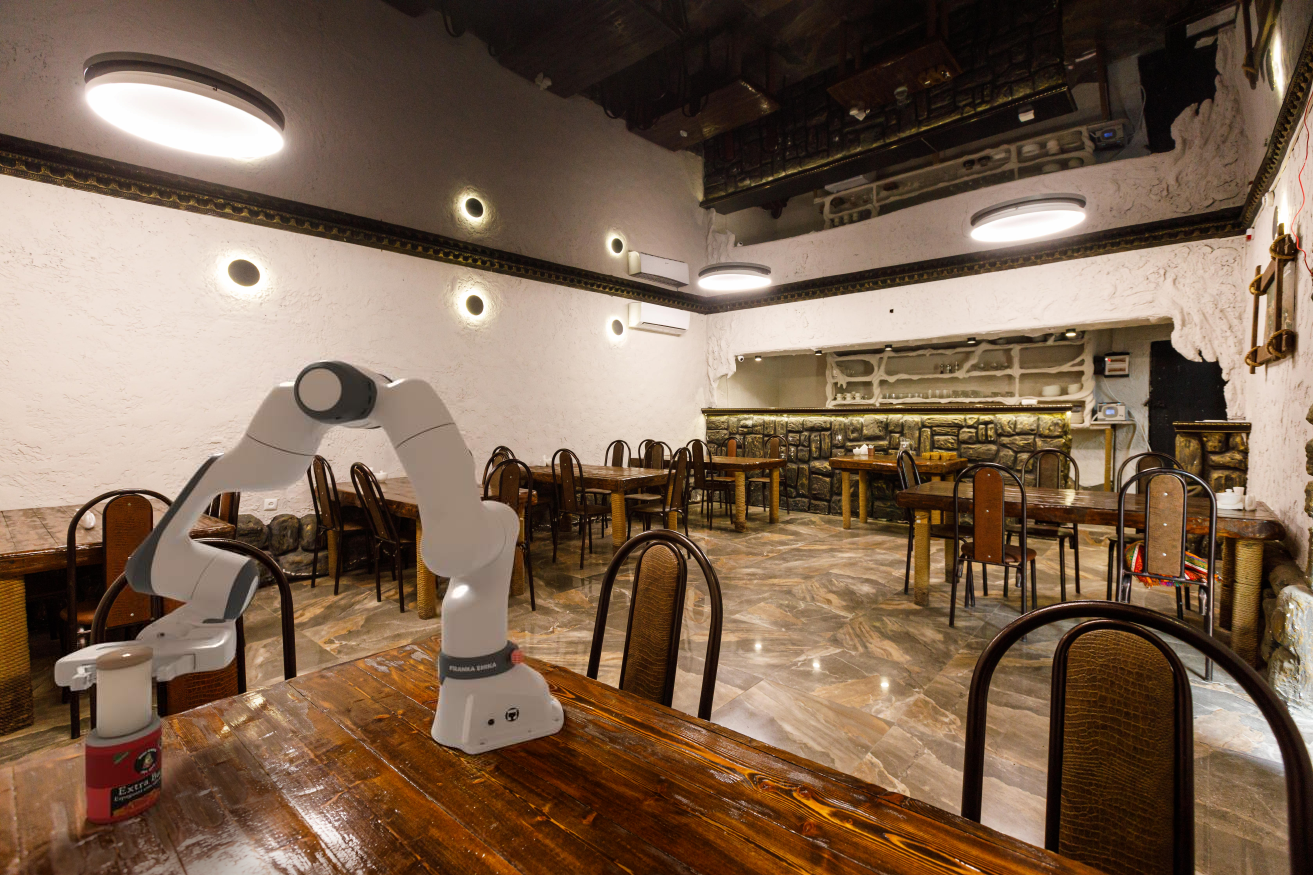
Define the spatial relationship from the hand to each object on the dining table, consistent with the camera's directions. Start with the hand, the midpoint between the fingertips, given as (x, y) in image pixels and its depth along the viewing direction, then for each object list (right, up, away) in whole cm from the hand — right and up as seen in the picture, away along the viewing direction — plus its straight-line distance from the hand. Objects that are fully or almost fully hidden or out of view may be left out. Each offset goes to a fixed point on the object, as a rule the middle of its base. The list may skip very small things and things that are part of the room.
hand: (120, 679), depth 77 cm
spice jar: (0, -7, +1) cm, 7 cm away
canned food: (0, -18, +1) cm, 18 cm away
